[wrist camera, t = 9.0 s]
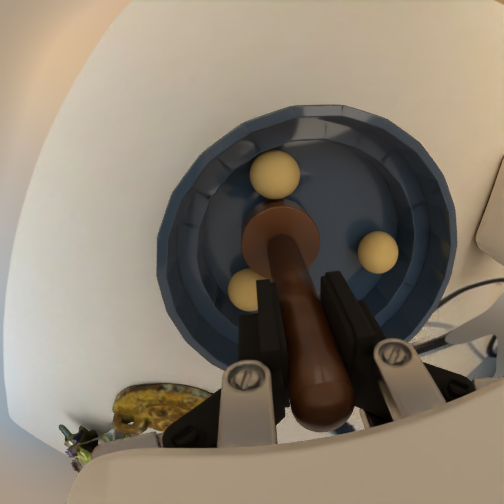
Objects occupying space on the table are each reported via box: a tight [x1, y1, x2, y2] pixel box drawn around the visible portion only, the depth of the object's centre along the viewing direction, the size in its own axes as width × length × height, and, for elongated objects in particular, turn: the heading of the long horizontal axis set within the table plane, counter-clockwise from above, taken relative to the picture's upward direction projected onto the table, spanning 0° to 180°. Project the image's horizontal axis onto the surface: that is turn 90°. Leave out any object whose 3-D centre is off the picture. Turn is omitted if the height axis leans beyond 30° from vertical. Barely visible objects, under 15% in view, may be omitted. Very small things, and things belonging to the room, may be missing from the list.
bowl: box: [157, 105, 457, 371], centre depth 18 cm, size 18×18×6 cm
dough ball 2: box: [250, 150, 300, 199], centre depth 17 cm, size 3×3×3 cm
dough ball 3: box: [358, 231, 398, 274], centre depth 19 cm, size 3×3×3 cm
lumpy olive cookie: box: [113, 384, 212, 435], centre depth 27 cm, size 9×5×15 cm
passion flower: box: [59, 425, 129, 473], centre depth 29 cm, size 11×11×12 cm
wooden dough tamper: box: [241, 199, 355, 432], centre depth 13 cm, size 5×5×14 cm
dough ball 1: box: [228, 268, 268, 311], centre depth 20 cm, size 3×3×3 cm
